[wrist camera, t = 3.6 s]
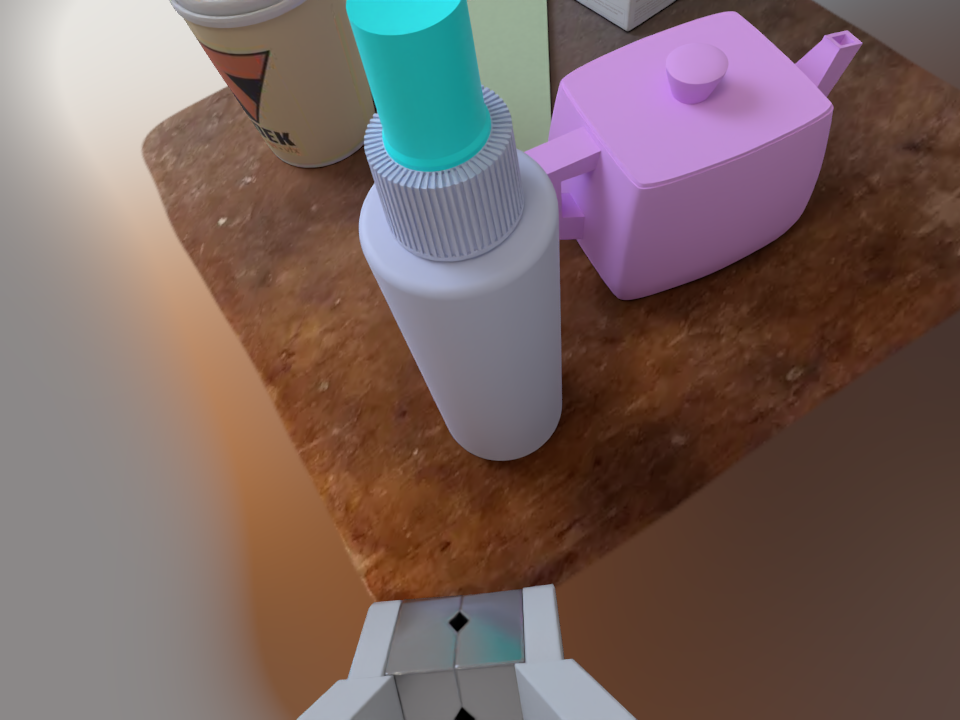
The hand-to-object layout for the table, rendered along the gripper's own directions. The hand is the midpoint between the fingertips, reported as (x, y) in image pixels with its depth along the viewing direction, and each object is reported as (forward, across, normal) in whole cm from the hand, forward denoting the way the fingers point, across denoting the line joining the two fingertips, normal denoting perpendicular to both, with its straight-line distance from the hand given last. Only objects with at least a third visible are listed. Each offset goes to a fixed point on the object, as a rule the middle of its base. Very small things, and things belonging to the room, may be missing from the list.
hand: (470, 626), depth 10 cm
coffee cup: (+38, +11, -11) cm, 41 cm away
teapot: (+30, -11, -3) cm, 32 cm away
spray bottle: (+22, 0, +5) cm, 22 cm away
